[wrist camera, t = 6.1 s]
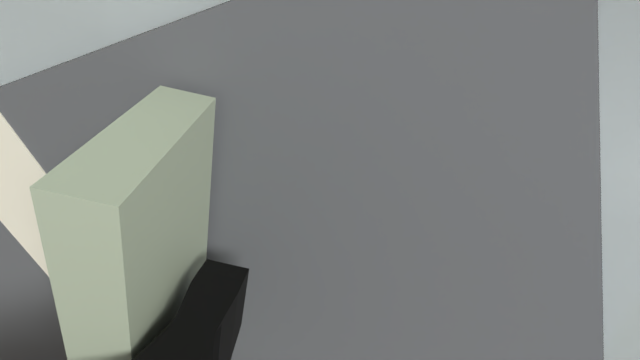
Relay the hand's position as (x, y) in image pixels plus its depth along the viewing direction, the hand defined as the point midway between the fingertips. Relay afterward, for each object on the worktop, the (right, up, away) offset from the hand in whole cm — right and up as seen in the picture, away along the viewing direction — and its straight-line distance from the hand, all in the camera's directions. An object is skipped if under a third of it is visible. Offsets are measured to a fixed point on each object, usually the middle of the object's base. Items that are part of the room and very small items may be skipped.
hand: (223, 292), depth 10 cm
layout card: (-2, -5, +6) cm, 8 cm away
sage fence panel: (-1, 0, +2) cm, 2 cm away
